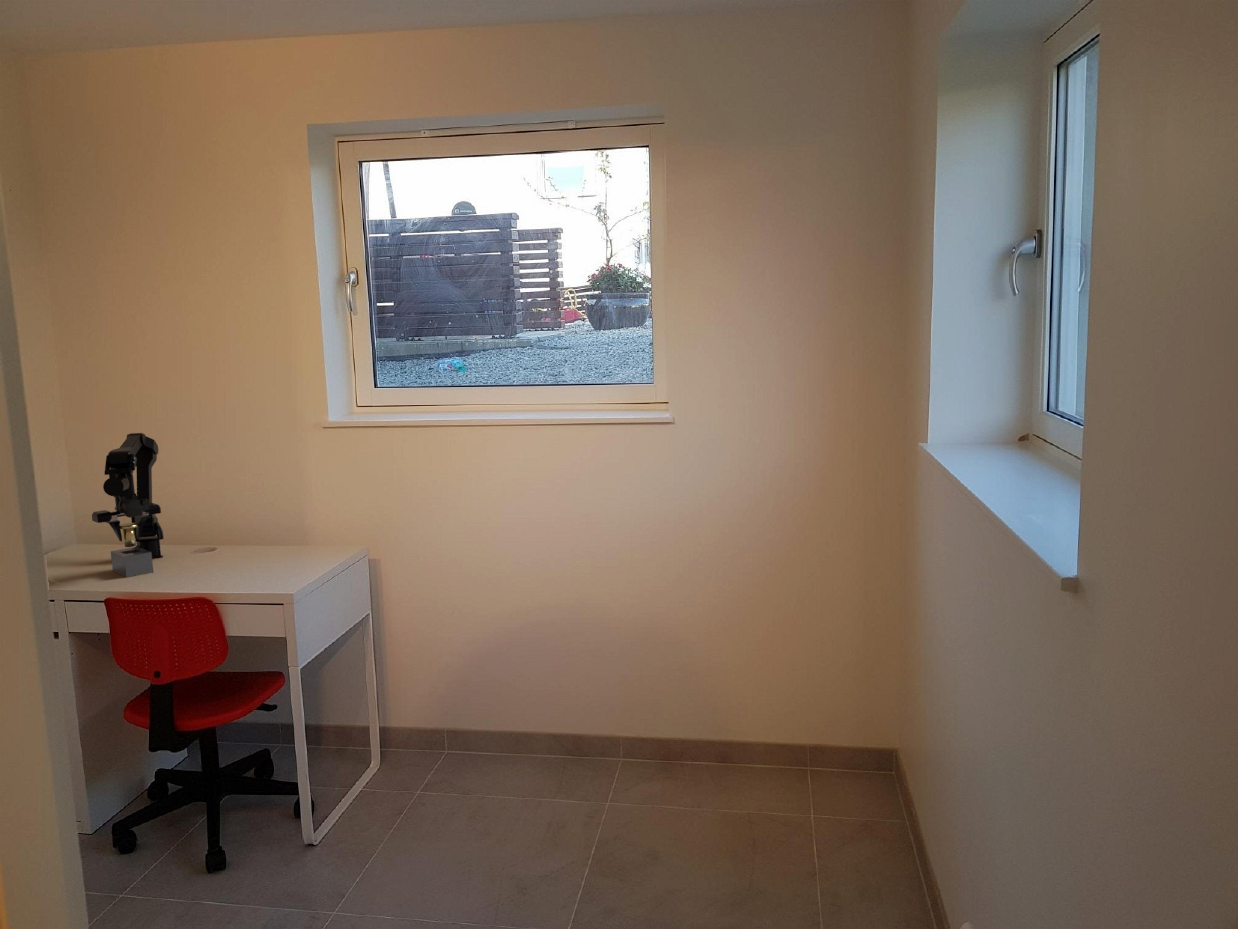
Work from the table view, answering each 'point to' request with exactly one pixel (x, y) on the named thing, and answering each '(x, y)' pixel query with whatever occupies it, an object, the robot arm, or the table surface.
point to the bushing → (129, 534)
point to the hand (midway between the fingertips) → (129, 539)
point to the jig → (132, 561)
